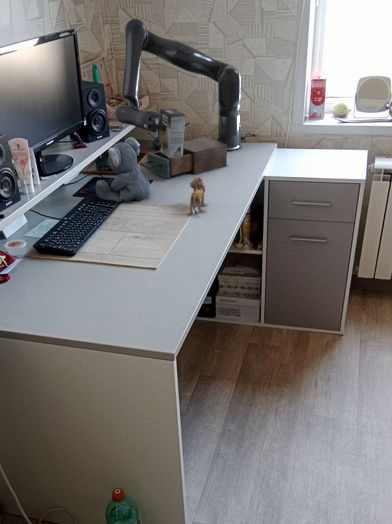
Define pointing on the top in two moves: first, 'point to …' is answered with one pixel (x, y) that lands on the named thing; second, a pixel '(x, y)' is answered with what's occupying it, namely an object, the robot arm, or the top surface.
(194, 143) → the cabinet
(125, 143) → the koala plush
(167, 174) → the drawer
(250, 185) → the top surface
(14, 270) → the top surface
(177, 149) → the coffee box
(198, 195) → the lion figurine
